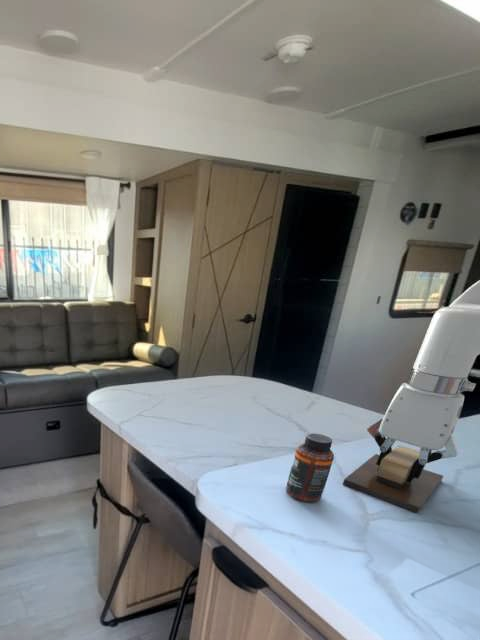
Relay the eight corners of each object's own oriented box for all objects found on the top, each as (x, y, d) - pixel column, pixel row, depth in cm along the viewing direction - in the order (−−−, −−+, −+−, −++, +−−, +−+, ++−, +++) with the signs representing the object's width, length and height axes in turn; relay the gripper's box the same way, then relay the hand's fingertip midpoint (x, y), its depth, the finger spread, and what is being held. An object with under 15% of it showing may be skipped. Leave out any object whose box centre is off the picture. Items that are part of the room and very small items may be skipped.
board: (373, 458, 88) (375, 453, 88) (441, 481, 80) (443, 475, 80) (342, 484, 77) (344, 478, 77) (416, 513, 69) (419, 507, 69)
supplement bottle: (327, 497, 73) (346, 440, 68) (309, 507, 70) (328, 448, 65) (296, 482, 77) (312, 428, 72) (278, 491, 74) (293, 434, 69)
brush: (390, 465, 83) (398, 445, 81) (414, 473, 80) (423, 452, 78) (373, 480, 77) (382, 458, 75) (399, 490, 74) (409, 467, 72)
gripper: (501, 391, 67) (453, 486, 75) (386, 368, 78) (355, 453, 86) (495, 400, 62) (444, 500, 70) (373, 374, 73) (341, 463, 81)
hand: (395, 473), depth 78 cm, fingers closed on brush, 4 cm apart
